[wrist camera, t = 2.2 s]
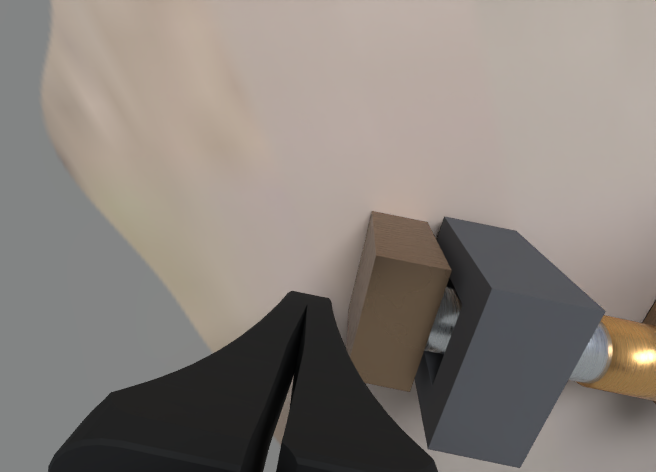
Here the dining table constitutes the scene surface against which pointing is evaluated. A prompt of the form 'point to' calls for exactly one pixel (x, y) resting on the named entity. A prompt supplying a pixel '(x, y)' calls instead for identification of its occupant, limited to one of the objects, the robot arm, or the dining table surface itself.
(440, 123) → the dining table surface
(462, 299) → the gray square nut
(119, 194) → the dining table surface
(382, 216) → the brown dumbbell
